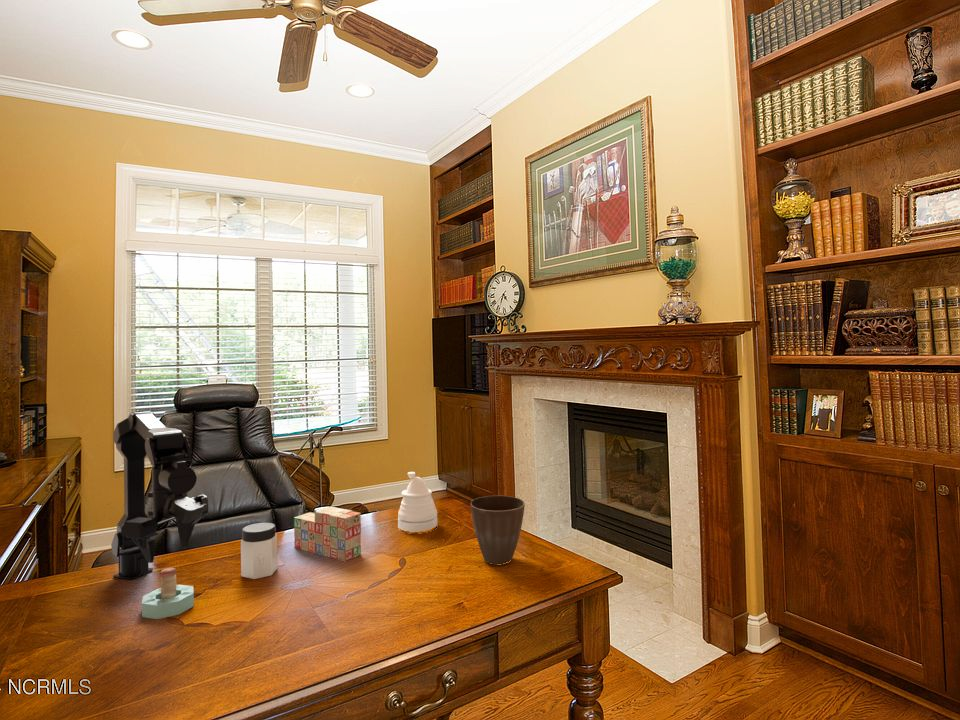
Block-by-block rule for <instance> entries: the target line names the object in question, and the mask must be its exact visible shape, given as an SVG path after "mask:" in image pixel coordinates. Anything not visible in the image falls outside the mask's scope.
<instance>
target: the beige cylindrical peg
mask: <svg viewBox="0 0 960 720" xmlns="http://www.w3.org/2000/svg"><path fill="white" fill-rule="evenodd" d="M176 585H177V568H175V567H167V568H164V569H162V570H161V571H160V588H161V600H165V599H170V598H174V597H176Z"/></svg>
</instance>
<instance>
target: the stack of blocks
mask: <svg viewBox="0 0 960 720" xmlns="http://www.w3.org/2000/svg"><path fill="white" fill-rule="evenodd" d="M361 514H362V513H361V512H358V511H354V510H352V509H346V508H340V507H335V506H328V507H325V508H322V509H319V510H316V511H314V512H306V513H303V514H300V515H298V516H294V517H293V528H294V529H293V530H294V533H293V537H294V549H298V550H302V551H305V552H308V553H312V554H316V555H319V554H320V555H321V556H323V555H324V557H327V556H328V557H327V558H330V557H331V558H330V559H334V560H337V561H341V562H344V561H346V562H348V561H350V560H352V559H354V558H356V557H358V556H357V555H359V554H361V555H362V553H361V552H362V546H361V542H362V541H361V539H362V538H361V537H362V536H361V533H362V529H361V528H362V524H361V519H362V518H361V517H362V515H361ZM320 555H319V556H320ZM355 556H356V557H355ZM359 556H360V555H359ZM353 557H354V558H353ZM351 558H352V559H351ZM349 559H350V560H349ZM347 560H348V561H347Z"/></svg>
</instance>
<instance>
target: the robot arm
mask: <svg viewBox="0 0 960 720" xmlns="http://www.w3.org/2000/svg"><path fill="white" fill-rule="evenodd" d="M112 436H113V437H112V438H113V442H114V444H115V446H116V447H115V448H116V450H117V451H118V453H119V454H120V455H121V456H122V458H123V502H124V503H123V505H124V506H123V507H124V509H123V510H124V511H123V515H122V517H120V519H119V520H118V522H117V524H116V532H115V533H114V535H113V539H112V541H111V554H112V555H114V557H116V558H118V573H115V574H113V575H112V577H113V578H114V579H115V578H117V579H124V580H135V579H137V578H140V577H141V576H143V575H146V574H148V573H150V572H152V571H153V570H154V568H153V567H152V568H151V567H149V564H152V563H154V559H155V541H156V538H157V537H158V535H160V534H159V532H157V531H158V529H159V525H162V524H164V523H165V524H166V523H167V522H170V521H172V520H173V521H174V520H176V526H177V532H178V538H179V542H180V546H181V548H182V549H187V548H188V545H189V543H190V539H191V537H192V533H193V531H194V528H195V525H196V524H198V522H199V521H200V520H201V519H203V518H204V517H205V515H206V514H208V513H209V499H208V496H207V495H206V494H204V493H203V494H200V495H197V496H196V497H194V496H193V497H188V492H190V491H191V490H193V489H194V487H195V485H196V484H197V479H198V478H197V475H196V472H195V471H194V470H193V468H190V467H188V466H187V462H188V461H189V462H190V461H192V460H193V459H192V455H193V451H192V448H191V445H190V443H189V442H190V441H189V439H188V438H187V436H186V435H185V434H184V433H183V431H182V430H181V429H178V428H175V427H174V428H172V427H167V426H166V425H164V424H163V423H162V422H161V421H160V420H159V419H158V418H157V417H156V416H155V412H154V411H150V410H147V411H145V410H144V411H135V412H132V413H129V414H128V416H127V418H124V419H123V420H121V421H120V422H118V423H117V424H116V426H115V428H114V431H113V435H112ZM145 457H147V458H148V460H149V463H150V465H151V490H152V491H150V492H147V498H151V499H152V502H151V503H152V509H150V510H148V511H147V514H146V491H145V490H146V487H145V486H146V483H145V482H146V481H145V479H146V478H145V477H146V473H145V470H146V469H145V466H146V463H145ZM150 516H151V517H150Z"/></svg>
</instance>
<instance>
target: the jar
mask: <svg viewBox="0 0 960 720" xmlns="http://www.w3.org/2000/svg"><path fill="white" fill-rule="evenodd" d="M277 569H278V534H277V533H276V525H275V523H272V522H258V523H257V522H256V523H252V524H248V525H246V526H244V527H243V528H242V530H241V540H240V577H242V578H247V579H251V580H257V579H262V578H266V577H269V576H270V577H271V576H273V574H275V572H276V571H277Z"/></svg>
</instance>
